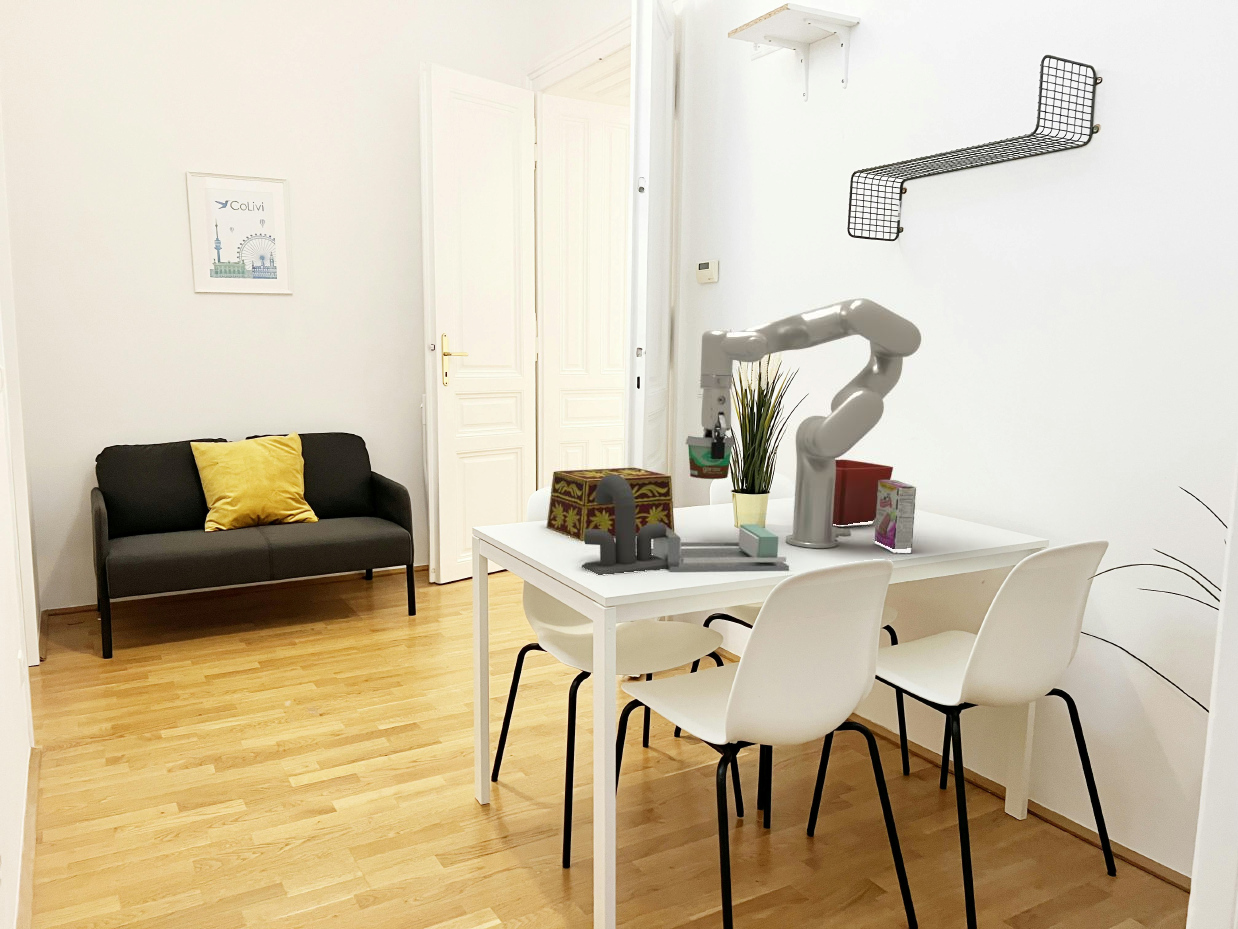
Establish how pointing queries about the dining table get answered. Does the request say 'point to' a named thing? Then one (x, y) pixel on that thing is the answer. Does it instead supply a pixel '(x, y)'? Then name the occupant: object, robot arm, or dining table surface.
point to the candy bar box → (895, 514)
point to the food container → (708, 458)
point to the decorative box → (580, 511)
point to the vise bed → (709, 556)
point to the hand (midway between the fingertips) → (713, 456)
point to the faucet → (623, 533)
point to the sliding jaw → (757, 541)
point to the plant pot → (857, 490)
